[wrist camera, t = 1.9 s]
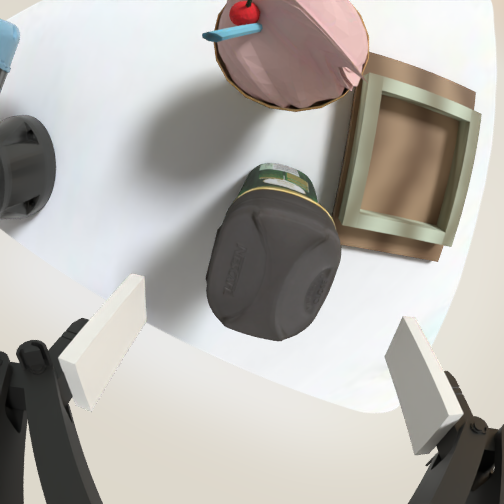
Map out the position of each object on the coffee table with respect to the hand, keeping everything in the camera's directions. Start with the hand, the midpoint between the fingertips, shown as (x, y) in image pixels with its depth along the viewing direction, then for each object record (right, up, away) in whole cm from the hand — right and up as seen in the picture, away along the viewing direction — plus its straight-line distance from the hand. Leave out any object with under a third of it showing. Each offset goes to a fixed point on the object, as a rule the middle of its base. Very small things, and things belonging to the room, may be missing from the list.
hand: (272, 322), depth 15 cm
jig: (+16, +14, +16) cm, 27 cm away
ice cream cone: (+3, +23, +14) cm, 27 cm away
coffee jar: (+2, +9, +20) cm, 22 cm away
